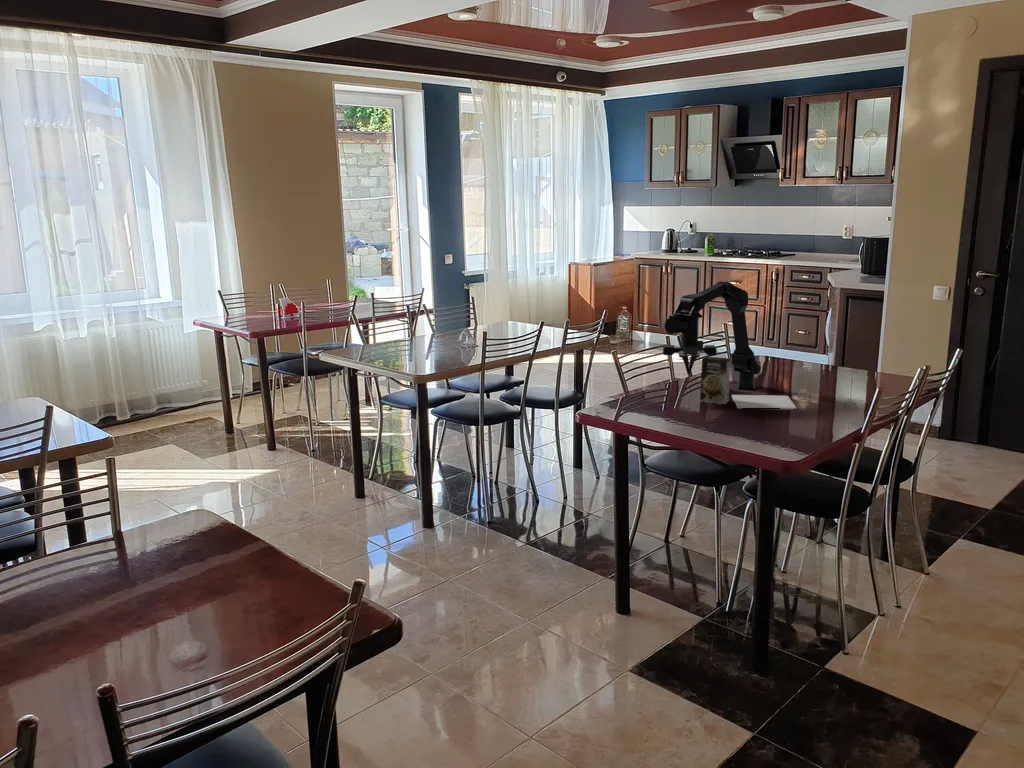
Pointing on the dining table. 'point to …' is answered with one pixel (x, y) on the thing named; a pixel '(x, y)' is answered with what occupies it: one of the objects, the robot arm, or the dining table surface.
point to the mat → (763, 401)
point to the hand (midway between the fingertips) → (688, 373)
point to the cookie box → (715, 380)
